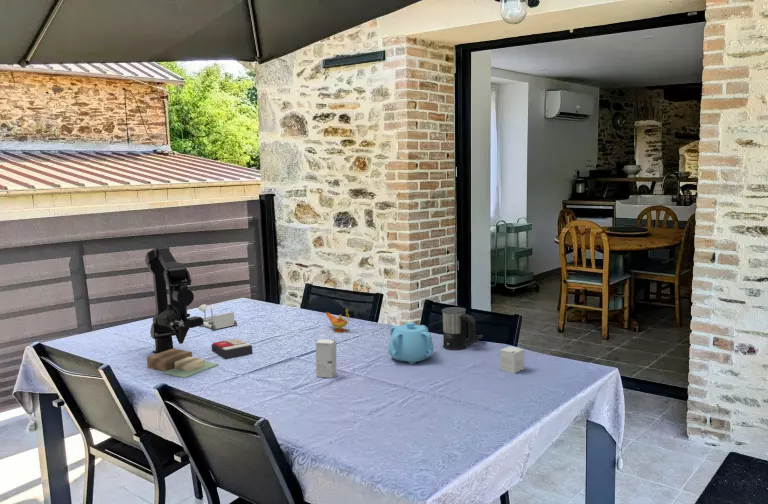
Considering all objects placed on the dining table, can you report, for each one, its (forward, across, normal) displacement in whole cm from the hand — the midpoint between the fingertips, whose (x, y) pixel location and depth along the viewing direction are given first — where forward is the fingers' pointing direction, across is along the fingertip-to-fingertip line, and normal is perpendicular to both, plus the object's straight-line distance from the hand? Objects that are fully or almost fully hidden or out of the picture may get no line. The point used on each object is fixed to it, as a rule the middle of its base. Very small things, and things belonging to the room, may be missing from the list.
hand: (181, 343), depth 226 cm
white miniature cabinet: (+9, +52, +16) cm, 56 cm away
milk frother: (+9, +79, +70) cm, 106 cm away
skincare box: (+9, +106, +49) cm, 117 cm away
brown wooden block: (+9, -7, 0) cm, 11 cm away
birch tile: (+9, +3, +1) cm, 9 cm away
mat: (+9, +4, 0) cm, 10 cm away
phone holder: (+9, -35, +50) cm, 62 cm away
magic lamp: (+9, +21, +67) cm, 71 cm away
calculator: (+10, +2, +22) cm, 24 cm away
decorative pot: (+9, +69, +45) cm, 83 cm away
